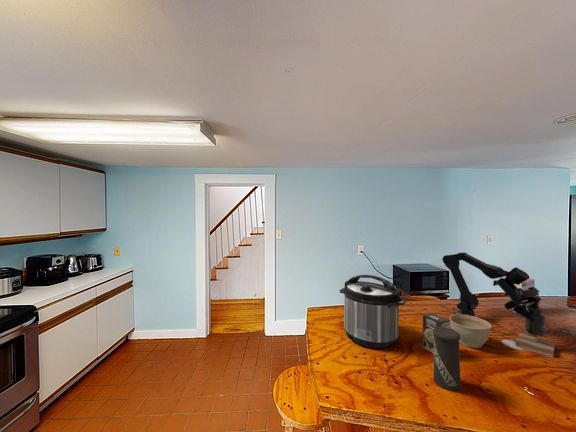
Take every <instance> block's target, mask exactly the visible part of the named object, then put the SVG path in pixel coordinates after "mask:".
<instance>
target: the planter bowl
mask: <svg viewBox="0 0 576 432" xmlns="http://www.w3.org/2000/svg"><path fill="white" fill-rule="evenodd" d="M449 320H450V329H453V330H455V331H457V332H458V333H459V334H460V340H459V344H461V345H463V346H465V347H469V348H472V349H481V348H483V347H484V344H486V342H487V341H488V340H489V338H490V335H491V332H492V331H491V330H492V324H491V323H490V322H488V321H487V320H485V319H483V318H480V317H477V316H475V317H473V316H468V315H459V314H453V315H452V314H451V316H449Z"/></svg>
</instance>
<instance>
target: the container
mask: <svg viewBox="0 0 576 432" xmlns="http://www.w3.org/2000/svg"><path fill="white" fill-rule="evenodd" d="M433 334H434V354H433V381H434V383H435V384H436V385H437V386H439V387H440V388H441V389H445V390H448V391H452V392H453V391H454V392H455V391H459V390H460V389H461V387H462V386H461V383H462V382H461V364H460V363H461V359H460V342H459V340H460V334H459V333H458V332H457V331H455V330H453V329H452V328H451V327H450V328H446V327H436V328H434V329H433Z"/></svg>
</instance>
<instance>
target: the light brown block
mask: <svg viewBox="0 0 576 432" xmlns="http://www.w3.org/2000/svg"><path fill="white" fill-rule="evenodd" d="M514 341H515V344H516V347H520V348H523V349H526V350H525V351H530V352H534V353H536V354H541V355H543V356H547V357H550V358H554V355H555V347H556V346H555V345H556V344H555V341H551V340H548V339H544V338H540V337H536V336H534V335H529V334H525V333H521V332H519V333H518V335H517V337H516V339H515V340H514Z"/></svg>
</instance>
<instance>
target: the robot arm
mask: <svg viewBox="0 0 576 432" xmlns="http://www.w3.org/2000/svg"><path fill="white" fill-rule="evenodd" d="M441 259H442V262H443V265H444V267H446V268H448V269H449V271H450V273H451V275H452V278H453V280H454V281H455V284H456V286H457V289H458V291H459V301H460V302H459V303H457V304H456V308H457V309H458V310H459V314H458V315H468V316H473V317H476V316H475V315H476V314H475V310H476V309H477V307H478V306H479V303H480V302H479V301H480V300H479V299H478V297H477V295H476V293H472V292H471V291H470V289H469V287H468V285H467V282H466V281H465V277H464V276H463V273H462V271H461V269H460V261H463V262H466V263H467V264H468V265H471V266H472V267H475V269H478V270H479V271H481V273H482V274H483V275H484V276H486V277H487V278H490V279H491V280H493V283H492V286H494V287H496V286H498V287H499V288H500V289H501V291H503V292H504V296H505V297H508V298H510V300H509V301H507V302H506V303H504V308H506V309H505V310H507V311H509V310H510V311H511V312H512V311H514V312H516V313H515V314H517V313H518V315H520V316H521V317H524V319H525V318H527V319H529V320H531V321H532V322H533V321H535V320H534V318H533V317H532V316H531V314H530V313H529V312H528V311H527V309H528V306H535V307H539V305H540V304H541V301H542V299H541V298H540V290H539V289H538V288H536V287H529V288H528V290H522V289H521V288H517V287H516V286H515V285H514V284H516V285H519V284H521V283H522V282H524V281H526V280H528V279H529V278H530V275H529V274H528V273H527V272H526V271H524V270H523V269H520V268H519V267H513V268H512V269H511V270H504V269H503V268H502V267H500V266H497V265H493V264H488V263H486V262H484V261H482V260H480V259H478V258H477V257H474V256H472V255H470V254H468V253H467V252H463V251H462V252H458V253H455V254H446V255H443V257H442V258H441ZM523 304H524V305H523ZM526 306H527V307H526ZM512 308H513V310H512ZM526 308H527V309H526ZM539 308H540V307H539ZM514 312H513V313H514Z"/></svg>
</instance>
